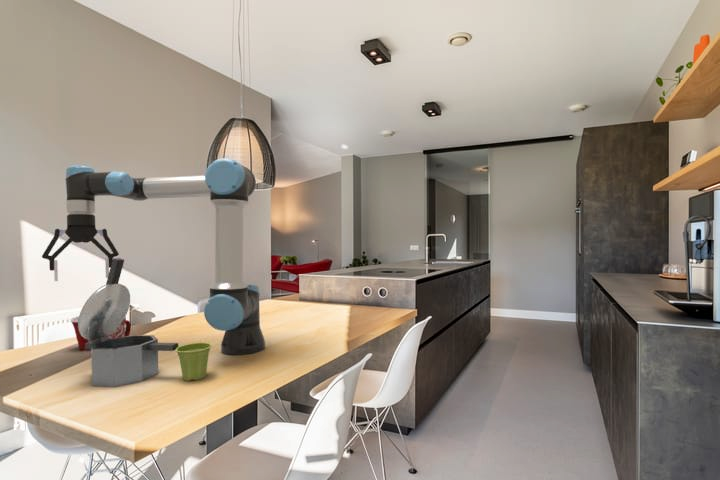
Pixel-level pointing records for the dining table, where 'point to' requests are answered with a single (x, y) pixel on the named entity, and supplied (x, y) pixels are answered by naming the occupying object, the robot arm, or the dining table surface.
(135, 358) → the cooker pot
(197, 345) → the plant pot
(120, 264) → the lid
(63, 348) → the dining table surface
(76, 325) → the plastic cup
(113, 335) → the mug
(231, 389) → the dining table surface
